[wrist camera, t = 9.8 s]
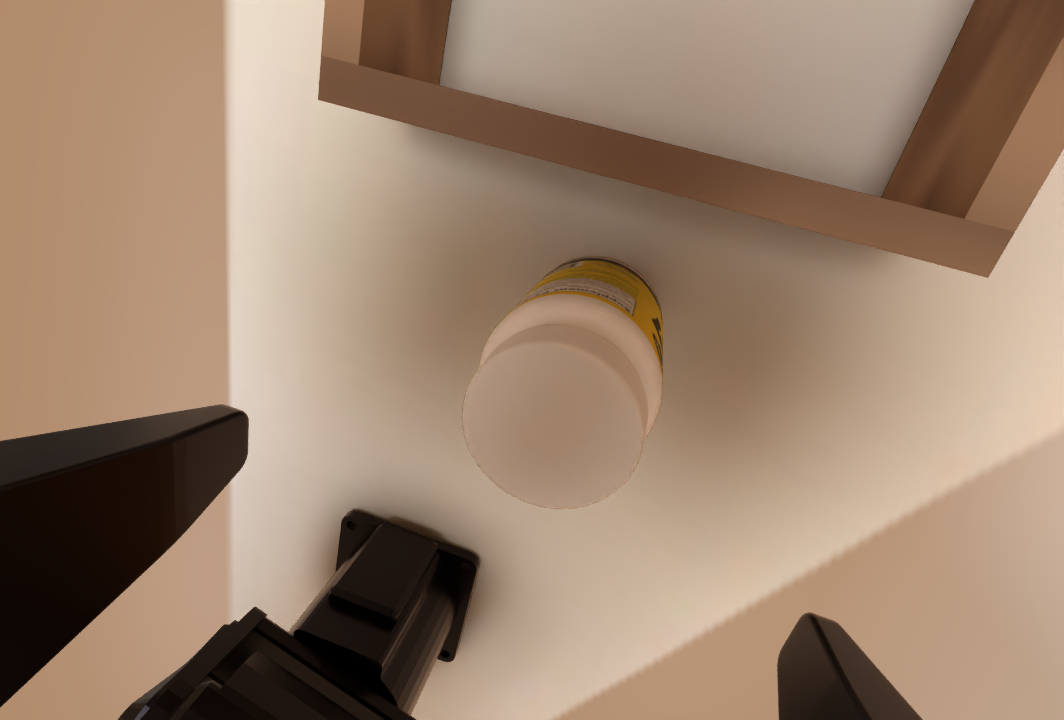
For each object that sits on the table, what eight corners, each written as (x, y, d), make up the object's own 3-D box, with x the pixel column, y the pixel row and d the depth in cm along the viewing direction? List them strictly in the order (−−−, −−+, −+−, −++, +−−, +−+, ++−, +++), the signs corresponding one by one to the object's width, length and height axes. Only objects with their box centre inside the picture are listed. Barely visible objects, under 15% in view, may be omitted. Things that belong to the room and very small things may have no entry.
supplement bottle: (640, 400, 20) (623, 554, 12) (517, 363, 20) (428, 488, 13) (682, 274, 18) (695, 364, 10) (546, 237, 19) (462, 297, 11)
